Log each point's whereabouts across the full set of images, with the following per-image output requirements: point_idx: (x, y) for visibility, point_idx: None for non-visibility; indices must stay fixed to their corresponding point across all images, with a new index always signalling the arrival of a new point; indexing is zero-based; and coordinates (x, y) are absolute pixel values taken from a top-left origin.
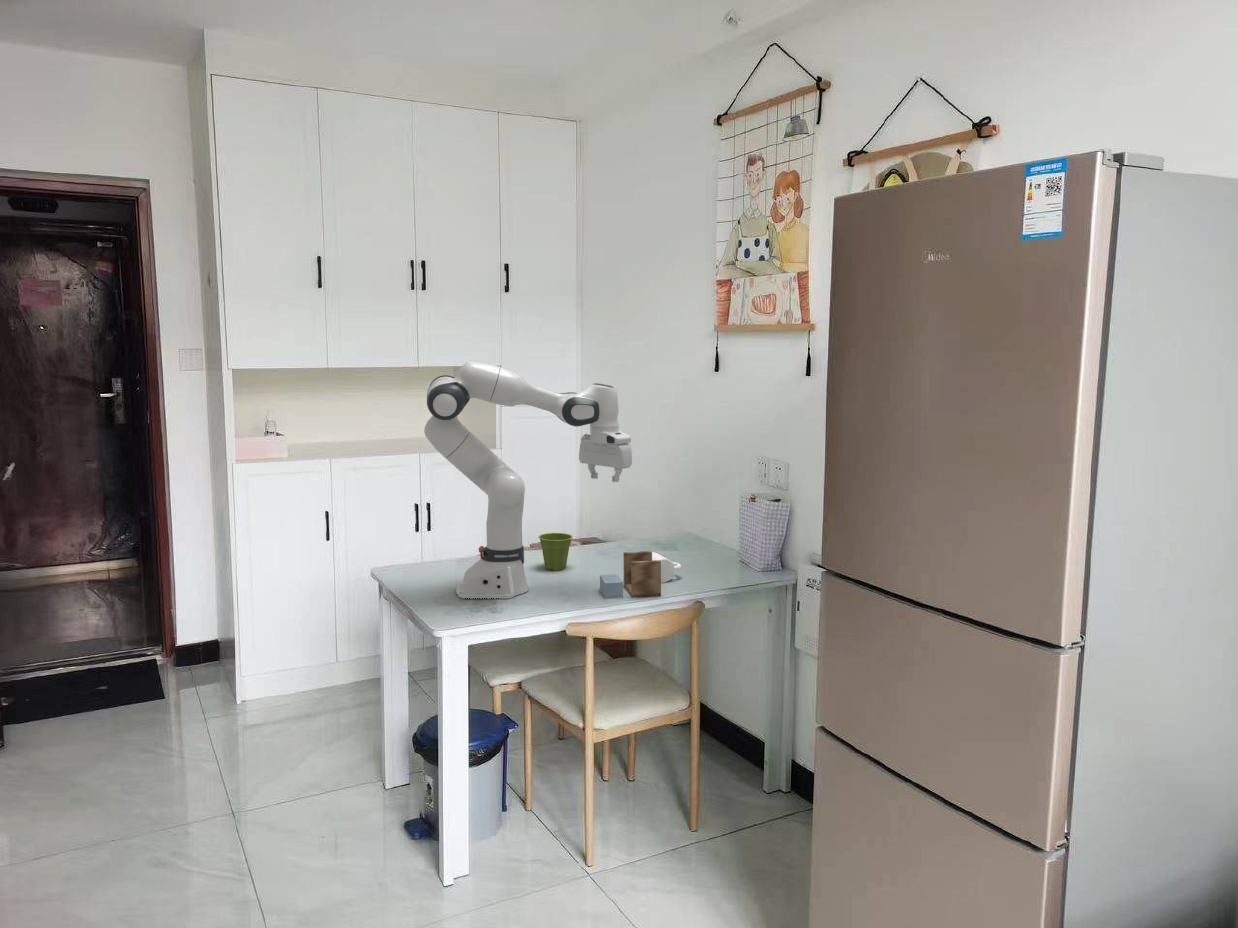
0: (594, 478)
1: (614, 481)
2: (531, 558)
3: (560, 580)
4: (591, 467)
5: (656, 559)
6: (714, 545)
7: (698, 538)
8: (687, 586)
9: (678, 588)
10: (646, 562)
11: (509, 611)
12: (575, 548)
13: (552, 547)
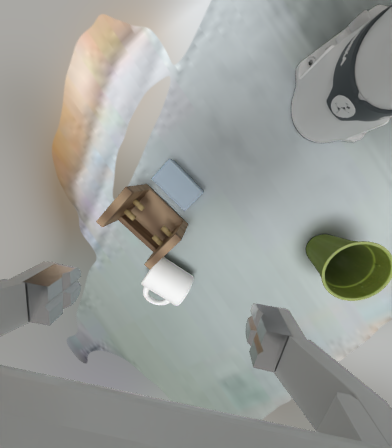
0: (253, 305)
1: (58, 264)
2: None
3: (279, 199)
4: (332, 402)
5: (156, 275)
6: None
7: None
8: (123, 261)
9: (126, 249)
10: (111, 204)
11: (256, 6)
12: (347, 340)
13: (339, 243)
